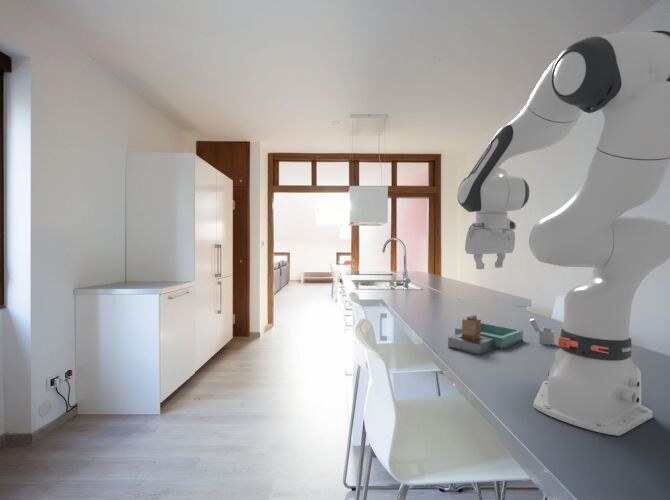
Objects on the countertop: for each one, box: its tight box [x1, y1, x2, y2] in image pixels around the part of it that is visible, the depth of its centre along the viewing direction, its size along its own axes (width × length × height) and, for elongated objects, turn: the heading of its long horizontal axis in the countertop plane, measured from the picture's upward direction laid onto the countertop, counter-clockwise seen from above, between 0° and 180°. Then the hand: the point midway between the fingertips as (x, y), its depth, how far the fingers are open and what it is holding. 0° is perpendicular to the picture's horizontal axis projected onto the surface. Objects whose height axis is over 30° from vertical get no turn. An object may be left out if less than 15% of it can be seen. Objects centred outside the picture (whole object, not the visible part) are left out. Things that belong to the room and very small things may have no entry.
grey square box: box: [447, 333, 495, 356], centre depth 110 cm, size 10×10×3 cm
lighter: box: [528, 317, 555, 346], centre depth 116 cm, size 7×2×8 cm, turn 71°
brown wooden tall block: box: [461, 313, 482, 342], centre depth 110 cm, size 4×4×10 cm
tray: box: [454, 321, 524, 350], centre depth 120 cm, size 16×16×4 cm
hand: (489, 268), depth 108 cm, fingers open, 8 cm apart
